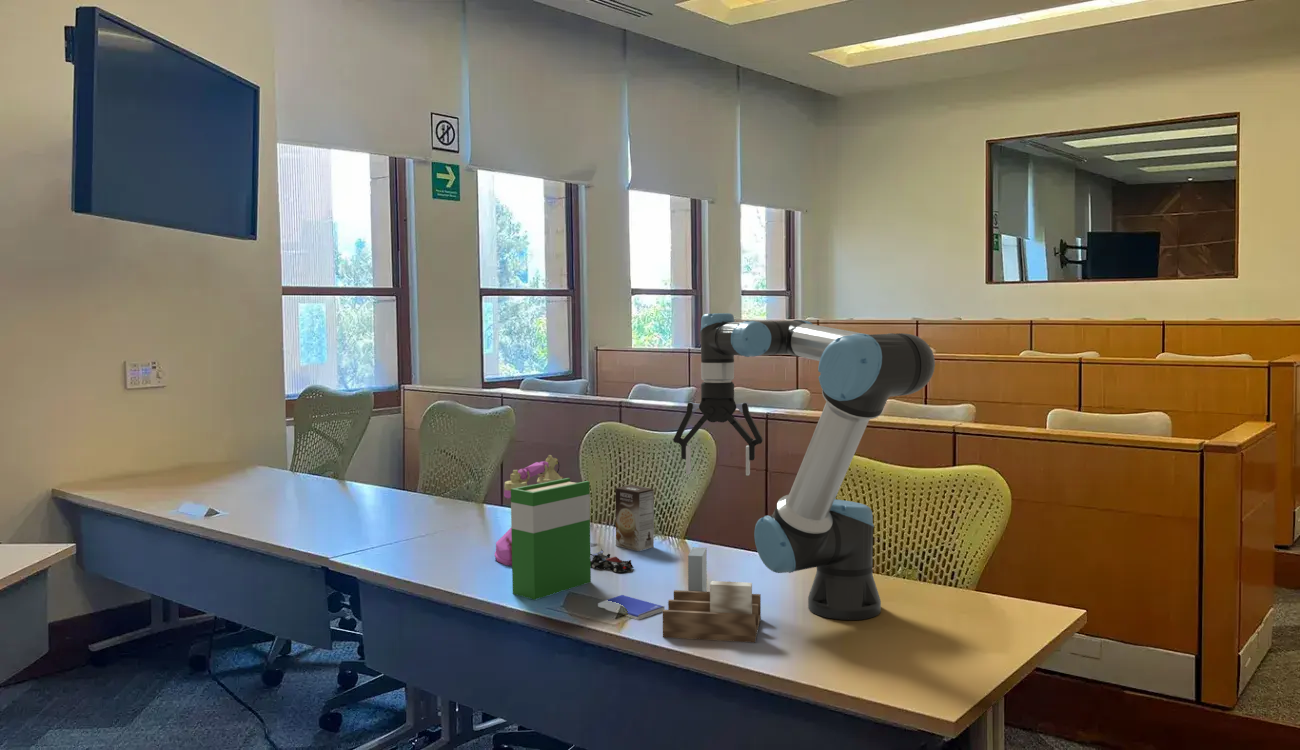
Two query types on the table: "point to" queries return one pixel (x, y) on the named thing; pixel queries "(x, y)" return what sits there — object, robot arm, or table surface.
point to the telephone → (505, 542)
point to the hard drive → (637, 606)
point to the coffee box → (635, 517)
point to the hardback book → (550, 537)
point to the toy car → (610, 563)
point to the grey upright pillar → (697, 569)
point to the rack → (714, 613)
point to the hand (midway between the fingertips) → (718, 474)
